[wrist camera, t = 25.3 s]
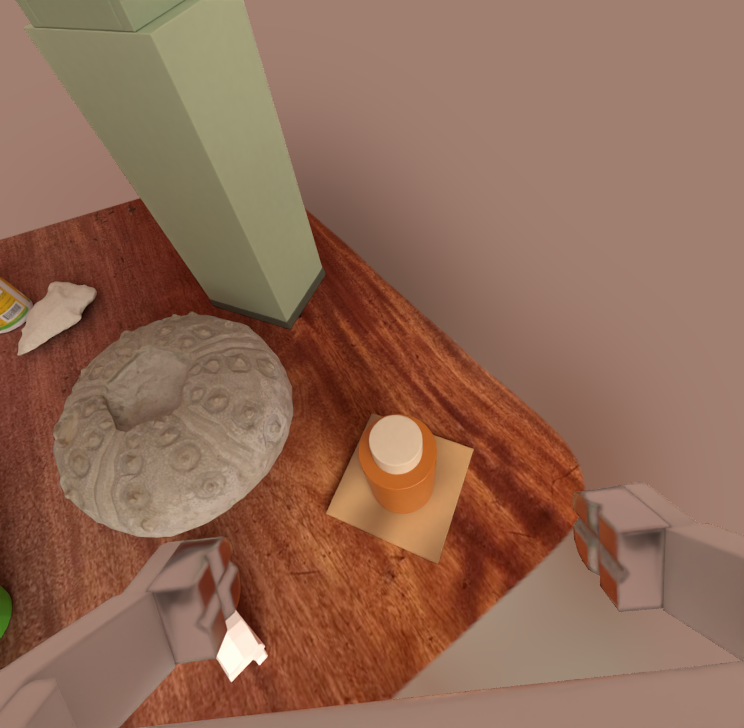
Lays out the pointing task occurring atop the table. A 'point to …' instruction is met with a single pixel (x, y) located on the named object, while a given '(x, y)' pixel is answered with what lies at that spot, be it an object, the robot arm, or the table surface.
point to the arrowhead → (54, 313)
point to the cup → (4, 610)
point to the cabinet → (191, 138)
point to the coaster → (409, 530)
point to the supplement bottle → (12, 307)
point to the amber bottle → (399, 462)
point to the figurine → (239, 647)
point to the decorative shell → (172, 425)
